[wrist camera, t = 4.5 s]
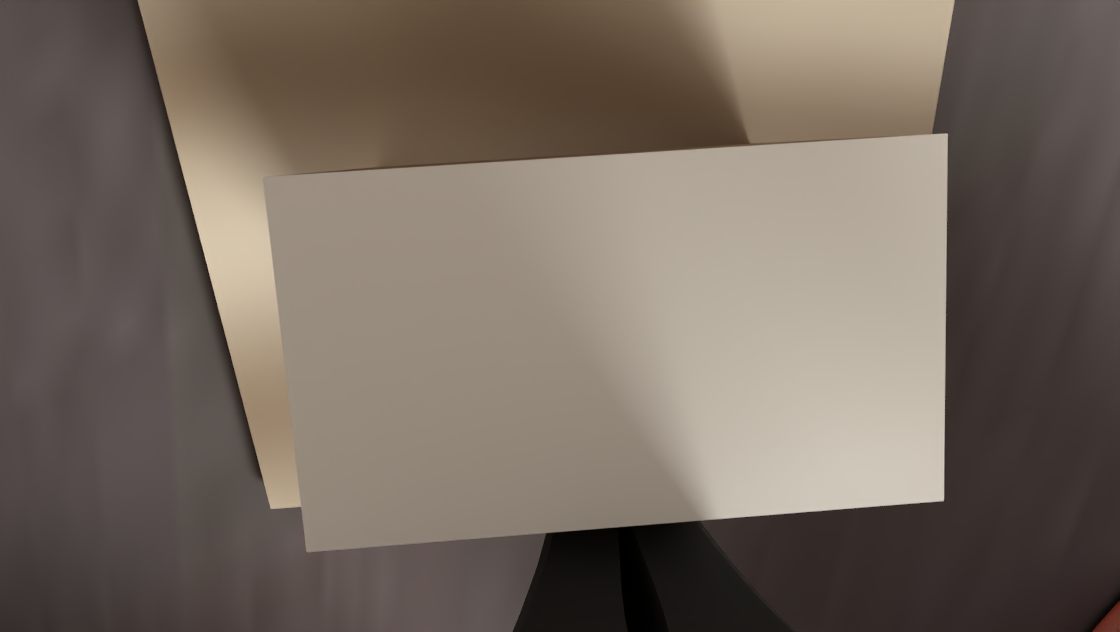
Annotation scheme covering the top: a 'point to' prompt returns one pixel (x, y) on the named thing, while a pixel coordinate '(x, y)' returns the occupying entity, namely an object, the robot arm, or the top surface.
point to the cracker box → (1110, 621)
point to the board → (495, 108)
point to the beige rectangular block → (613, 337)
